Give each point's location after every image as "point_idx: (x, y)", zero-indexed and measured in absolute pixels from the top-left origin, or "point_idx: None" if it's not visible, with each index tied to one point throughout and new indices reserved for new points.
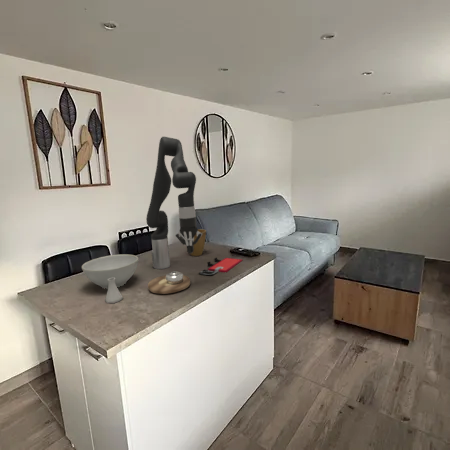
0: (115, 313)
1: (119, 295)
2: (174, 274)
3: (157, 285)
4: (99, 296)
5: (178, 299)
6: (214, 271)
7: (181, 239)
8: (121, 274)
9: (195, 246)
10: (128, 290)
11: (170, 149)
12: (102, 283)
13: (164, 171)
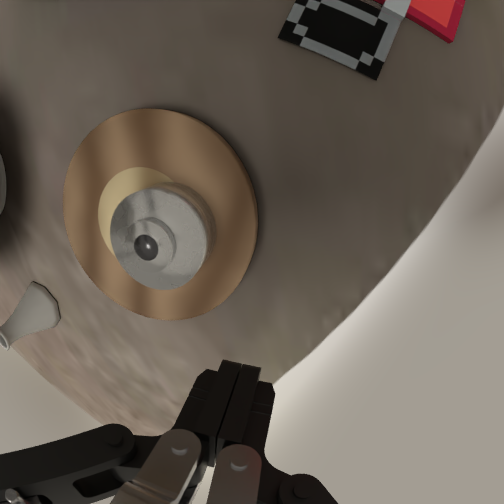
0: (96, 378)
1: (47, 316)
2: (158, 271)
3: (110, 265)
4: (5, 270)
5: (237, 350)
6: (381, 18)
7: (86, 501)
8: None
9: None
10: (35, 237)
11: None
12: None
13: None
